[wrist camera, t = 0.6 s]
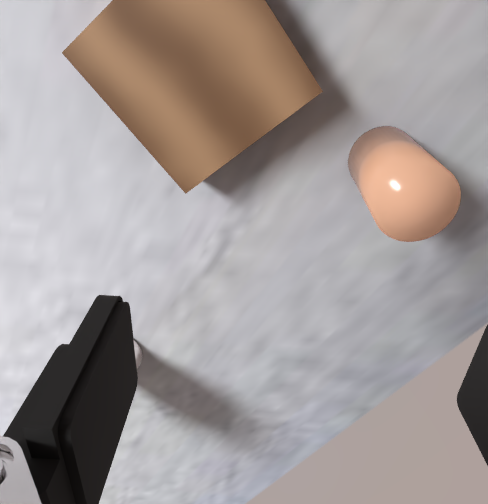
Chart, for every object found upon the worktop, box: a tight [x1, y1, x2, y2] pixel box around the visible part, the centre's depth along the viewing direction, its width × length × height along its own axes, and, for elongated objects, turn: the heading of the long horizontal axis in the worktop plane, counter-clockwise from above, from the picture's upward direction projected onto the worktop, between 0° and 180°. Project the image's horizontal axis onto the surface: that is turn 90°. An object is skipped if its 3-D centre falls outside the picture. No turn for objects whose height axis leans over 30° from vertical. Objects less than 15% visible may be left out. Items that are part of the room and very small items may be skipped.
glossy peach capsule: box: [348, 126, 461, 242], centre depth 30 cm, size 5×5×9 cm
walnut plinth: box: [62, 0, 323, 193], centre depth 29 cm, size 12×12×4 cm
